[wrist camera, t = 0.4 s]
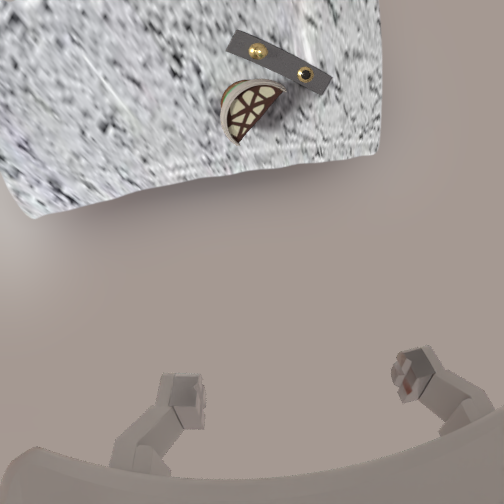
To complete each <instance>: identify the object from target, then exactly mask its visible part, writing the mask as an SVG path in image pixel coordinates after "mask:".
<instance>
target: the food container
mask: <svg viewBox="0 0 504 504" xmlns="http://www.w3.org/2000/svg"><path fill="white" fill-rule="evenodd" d="M283 91H284V92H286V88H285V87H284V86H282V85H281V84H279V83H277V82H275V81H272V80H269V79H253V80H241V81H238V82H235V83H233V84H232V85H230V86H229V87H228V88H227V89H226V90H225V92H224V94H223V96H222V99H221V114H220V119H221V125H222V128H223V131H224V133H225V134H226V136H227V137H228V138H229V140H230V141H231V142H233V143H234V144H235V145H237V146H238V145H239V146H240V144H239V142H240V141H241V140H242V138H243V137H244V136H245V134H246V133H247V132H248V131H249V130H250V129H251V128H252V126H253V125H254V124H255V123H256V122H257V121H258V120H259V119H260V118H261V117H262V116H263V114H264V113H265V112H266V111H267V109H268V108H269V107H270V106H271V104H272V103H273V102H274V101H275V100H276V99H277V98H278V96H279V95H280V94H281V93H282V92H283Z"/></svg>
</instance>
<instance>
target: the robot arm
mask: <svg viewBox="0 0 504 504" xmlns="http://www.w3.org/2000/svg"><path fill="white" fill-rule="evenodd" d="M396 358H397V360H398V361H397V362H396V363H394V364H393V367H392V369H391V377H392V380H393V383H394V385H396V386H398V387H399V389H398V394H399V397H400V399H401V401H402V403H407V402H411V401H414V400H418V399H419V401H420V402H421V403H422V404H424V405H425V406H426V407H427V408H429V409H430V410H431V411H432V412H433V413H435V414H436V415H437V416H438V417H440V418H441V419H442V420H443V421H444V422H445V423H444V425H443V426H442V427H441V428H440V430H439V434H440V437H439V438H437V439H434V440H432V441H429V442H427V443H424V444H422V445H419V446H416V447H413V448H410V449H408V450H405V451H402V452H399V453H395V454H392V455H389V456H386V457H382V458H379V459H375V460H371V461H367V462H363V463H360V464H355V465H351V466H346V467H341V468H337V469H331V470H326V471H320V472H314V473H307V474H300V475H292V476H284V477H272V478H259V479H258V478H257V479H194V478H180V477H171V470H170V468H169V467H168V466H167V465H166V464H165V463H164V461H163V460H162V457H163V456H164V455H165V454H166V453H167V451H168V450H169V449H170V448H171V446H172V445H173V444H174V442H175V441H176V440H177V439H178V437H179V436H180V435H181V433H182V432H183V431H184V430H183V429H204V426H205V414H204V411H203V409H204V408H205V407H206V392H205V387H204V385H203V384H202V376H201V374H186V373H163V374H162V376H161V379H160V385H159V389H158V394H157V398H156V403H155V406H151V407H150V408H148V409H147V410H146V411H145V413H143V414H142V415H141V416H140V417H139V418H138V419H137V420H136V421H135V422H134V423H133V424H132V425H131V426H130V427H129V428H128V429H127V430H125V431H124V432H123V433H122V434H121V435H120V436H119V437H118V438H117V439H116V440H115V443H114V447H113V451H112V456H111V460H110V464H109V467H106V466H102V465H97V464H94V463H90V462H86V461H82V460H78V459H75V458H72V457H68V456H65V455H62V454H58V453H55V452H53V451H50V450H47V449H44V448H41V447H33V448H31V449H29V450H27V451H26V452H24V453H22V454H21V455H19V456H18V457H17V458H15V459H14V460H12V461H11V463H10V464H9V465H8V467H7V469H6V471H5V473H4V475H3V478H2V481H1V484H0V504H504V405H503V406H502V407H500V408H498V409H496V410H495V409H494V407H493V405H492V403H491V401H490V400H489V398H488V396H487V394H486V393H485V391H484V390H482V389H481V388H479V387H477V386H476V385H474V384H472V383H470V382H469V381H466V380H465V379H463V378H462V377H460V376H458V375H457V374H455V373H453V372H451V371H450V370H445V368H444V367H443V366H442V363H441V362H440V360H439V359H438V357H437V355H436V354H435V352H434V351H433V349H432V347H431V346H429V345H426V346H422V347H417V348H413V349H409V350H405V351H401V352H399V353H398V355H397V357H396Z"/></svg>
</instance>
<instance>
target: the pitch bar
mask: <svg viewBox="0 0 504 504" xmlns="http://www.w3.org/2000/svg"><path fill="white" fill-rule="evenodd" d="M226 51H227V52H229V53H232V54H234V55H237V56H239V57H242V58H244V59H247V60H249V61H252V62H254V63H256V64H259V65H261V66H263V67H265V68H268V69H270V70H272V71H274V72H276V73H278V74H280V75H282V76H285V77H287V78H289V79H291V80H293V81H295V82H297V83H299V84H300V85H302V86H304V87H306V88H308V89H310V90H312V91H314V92H316V93H317V94H319V95H322V93H323V92H324V90H325V88H326V86H327V84H328V83H329V81H330V79H331V77H330V76H329V75H327V74H325V73H324V72H322V71H320V70H318V69H317V68H315V67H313V66H311V65H310V64H308V63H306V62H304V61H302V60H301V59H299V58H297V57H295V56H293V55H291V54H289V53H287V52H285V51H283V50H281V49H279V48H277V47H275V46H273V45H271V44H269V43H267V42H264V41H262V40H260V39H258V38H256V37H253V36H251V35H249V34H246V33H244V32H241V31H239V30H236V31H235V33H234V35H233V37H232V39H231V41H230V43H229V45H228V47H227V49H226Z"/></svg>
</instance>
